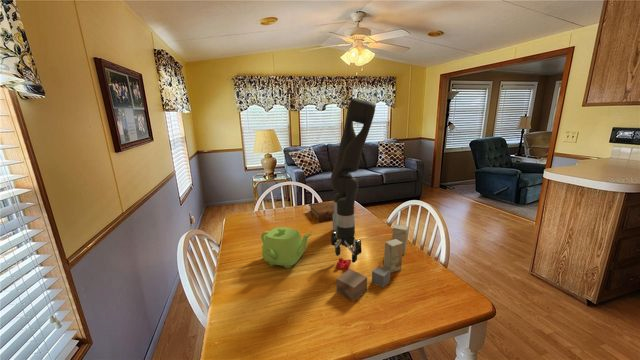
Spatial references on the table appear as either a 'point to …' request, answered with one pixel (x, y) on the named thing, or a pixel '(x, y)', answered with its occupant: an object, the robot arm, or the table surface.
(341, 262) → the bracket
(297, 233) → the teapot
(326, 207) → the diary
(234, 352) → the table surface
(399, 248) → the skincare box
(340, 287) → the walnut block
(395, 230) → the beige stone tall block
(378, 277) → the grey block
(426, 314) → the table surface
